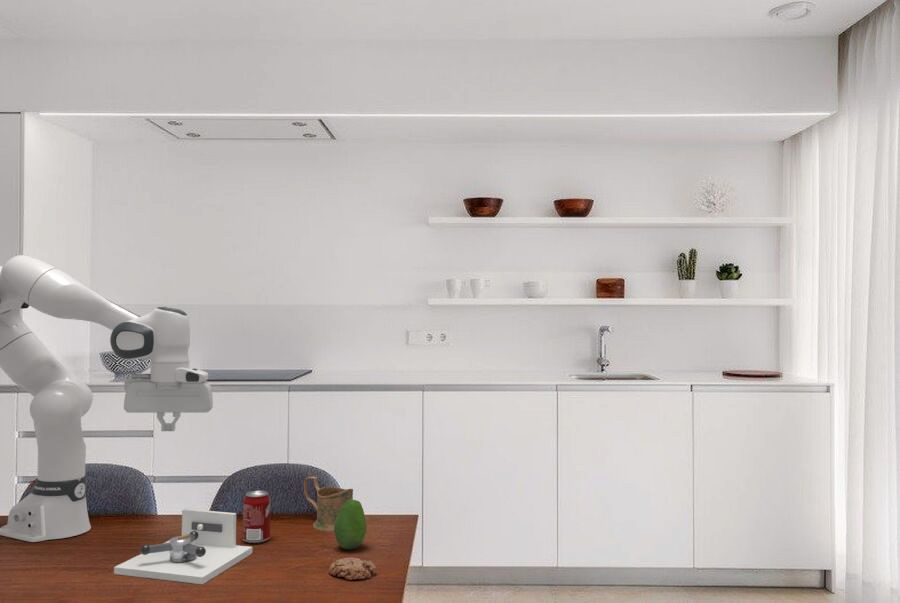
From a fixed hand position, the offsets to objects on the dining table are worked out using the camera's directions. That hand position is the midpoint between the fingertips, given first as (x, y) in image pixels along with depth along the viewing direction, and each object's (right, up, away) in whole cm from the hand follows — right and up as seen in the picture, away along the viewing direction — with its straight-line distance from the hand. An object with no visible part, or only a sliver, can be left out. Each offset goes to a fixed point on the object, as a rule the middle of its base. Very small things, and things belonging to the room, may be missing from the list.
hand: (168, 431), depth 177 cm
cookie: (+47, -30, -14) cm, 57 cm away
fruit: (+44, -30, +3) cm, 53 cm away
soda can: (+19, -30, +8) cm, 36 cm away
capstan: (+9, -27, -13) cm, 31 cm away
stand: (+8, -29, -9) cm, 31 cm away
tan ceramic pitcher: (+35, -30, +24) cm, 52 cm away
